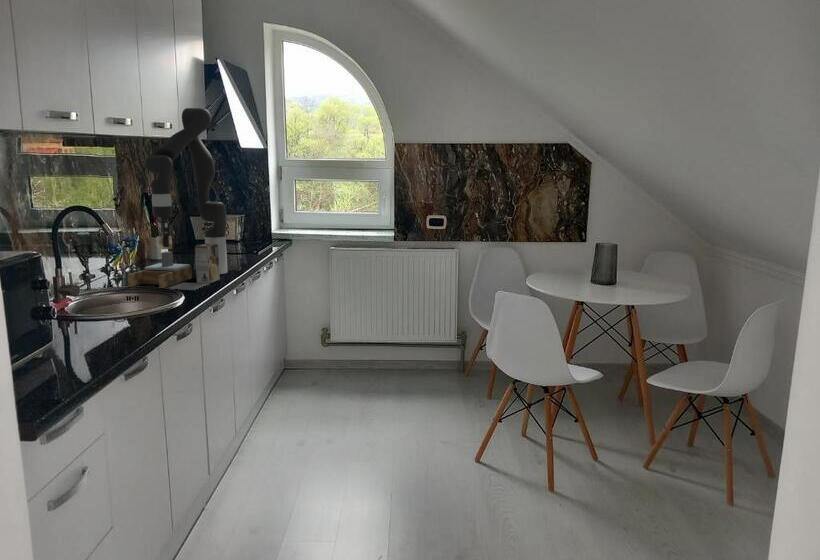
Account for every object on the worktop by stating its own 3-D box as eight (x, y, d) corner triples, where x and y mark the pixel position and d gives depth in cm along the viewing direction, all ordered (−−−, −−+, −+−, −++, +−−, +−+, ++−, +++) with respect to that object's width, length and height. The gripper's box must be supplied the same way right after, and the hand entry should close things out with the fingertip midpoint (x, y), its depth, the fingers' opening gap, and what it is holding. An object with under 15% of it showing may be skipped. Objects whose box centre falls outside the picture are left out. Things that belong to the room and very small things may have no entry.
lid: (159, 265, 284) (158, 249, 282) (190, 266, 281) (189, 250, 280) (144, 269, 273) (143, 253, 272) (176, 270, 270) (175, 254, 269)
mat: (183, 283, 271) (183, 282, 271) (209, 284, 269) (209, 283, 269) (167, 289, 259) (167, 287, 259) (194, 290, 257) (194, 289, 257)
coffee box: (207, 279, 281) (205, 243, 278) (220, 279, 280) (218, 243, 277) (196, 283, 273) (194, 246, 270) (209, 283, 271) (207, 246, 268)
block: (170, 247, 266) (169, 235, 265) (172, 248, 261) (171, 236, 260) (157, 248, 263) (156, 236, 262) (159, 249, 259) (158, 237, 258)
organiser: (161, 277, 286) (160, 265, 285) (192, 278, 283) (191, 266, 282) (128, 287, 262) (127, 274, 261) (161, 289, 259) (160, 275, 258)
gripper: (174, 205, 254) (177, 247, 258) (168, 203, 267) (171, 243, 270) (155, 206, 251) (158, 249, 254) (149, 204, 263) (152, 244, 266)
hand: (165, 245), depth 262 cm, fingers closed on block, 5 cm apart
